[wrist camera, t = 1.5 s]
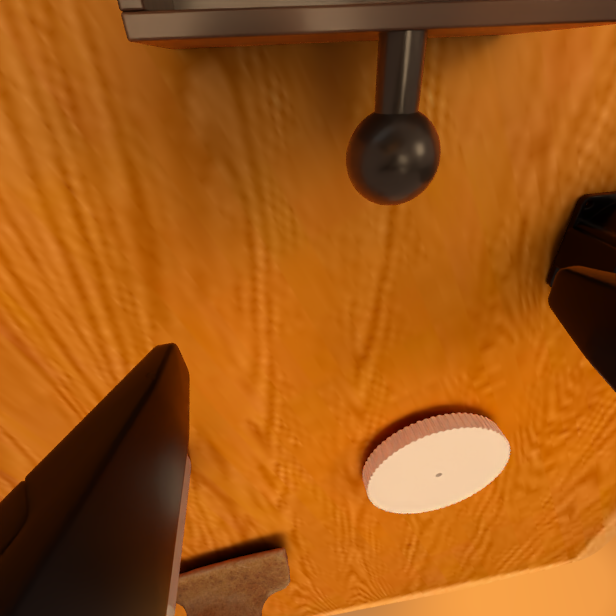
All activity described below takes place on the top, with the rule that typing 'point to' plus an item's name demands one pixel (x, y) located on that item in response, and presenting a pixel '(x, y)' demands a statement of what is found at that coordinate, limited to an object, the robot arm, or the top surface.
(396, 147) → the bin
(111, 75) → the top surface
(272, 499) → the top surface
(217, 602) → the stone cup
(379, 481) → the plastic lid
